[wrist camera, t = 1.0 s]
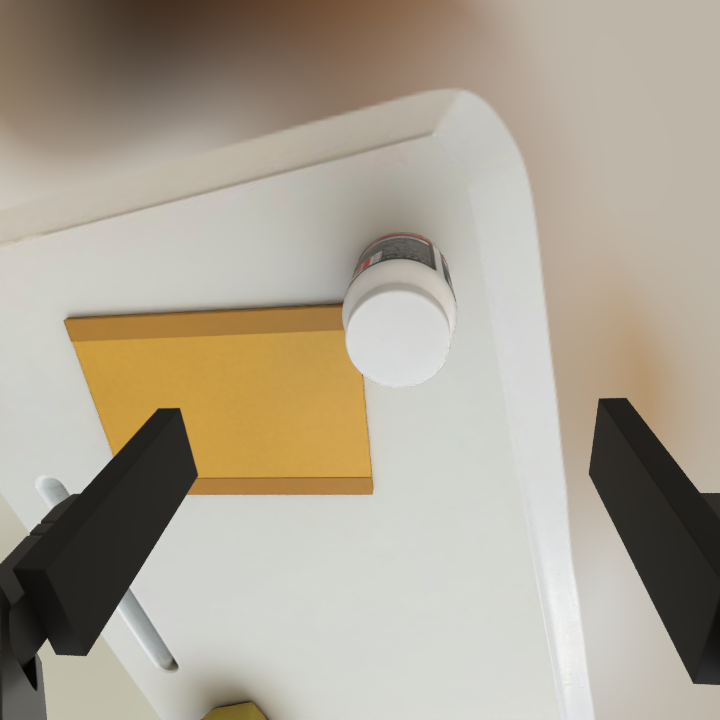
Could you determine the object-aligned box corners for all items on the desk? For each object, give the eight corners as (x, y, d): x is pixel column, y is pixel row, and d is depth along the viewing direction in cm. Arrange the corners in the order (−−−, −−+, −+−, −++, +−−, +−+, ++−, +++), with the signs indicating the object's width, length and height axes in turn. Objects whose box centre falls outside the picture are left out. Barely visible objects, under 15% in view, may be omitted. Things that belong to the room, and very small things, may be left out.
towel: (68, 317, 34) (63, 320, 34) (355, 303, 32) (354, 306, 31) (129, 490, 41) (125, 494, 40) (373, 489, 38) (372, 495, 37)
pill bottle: (337, 282, 31) (306, 345, 22) (396, 210, 29) (388, 248, 20) (406, 337, 32) (403, 419, 23) (468, 272, 30) (490, 335, 21)
